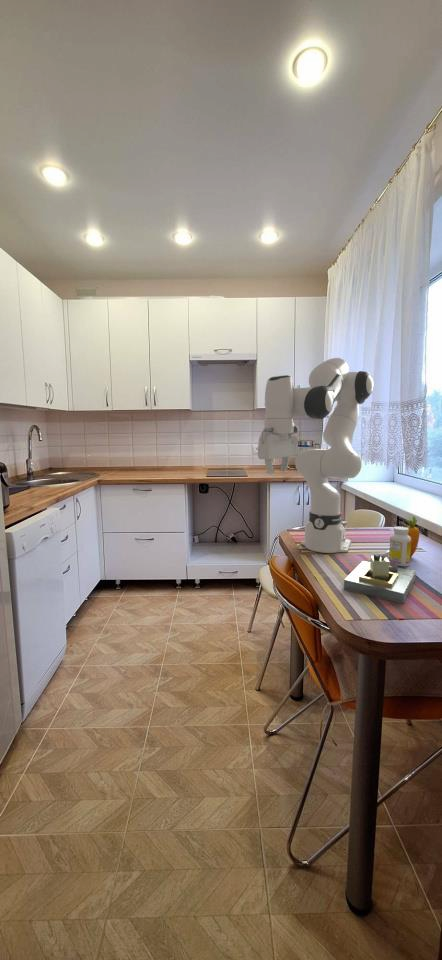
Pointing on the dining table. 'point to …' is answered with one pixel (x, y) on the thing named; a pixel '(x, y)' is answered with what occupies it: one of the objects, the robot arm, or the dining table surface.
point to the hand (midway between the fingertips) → (277, 472)
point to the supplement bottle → (400, 546)
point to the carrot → (413, 535)
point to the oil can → (380, 567)
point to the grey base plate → (381, 582)
